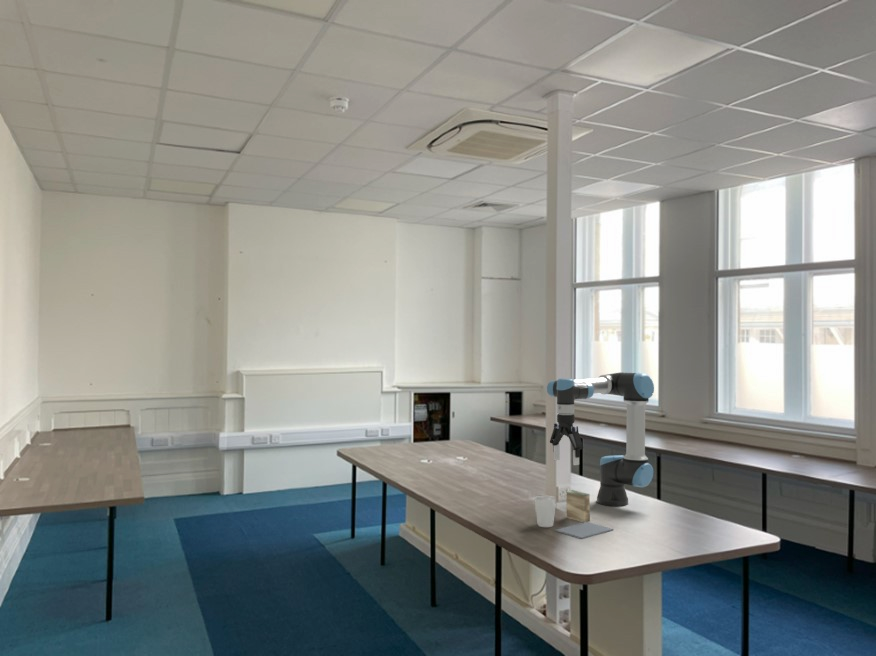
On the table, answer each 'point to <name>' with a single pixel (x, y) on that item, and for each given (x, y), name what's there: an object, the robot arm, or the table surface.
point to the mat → (584, 530)
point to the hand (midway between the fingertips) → (566, 462)
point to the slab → (578, 505)
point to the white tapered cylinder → (545, 510)
